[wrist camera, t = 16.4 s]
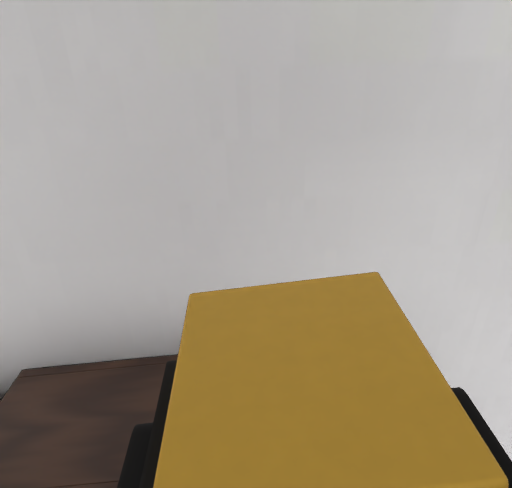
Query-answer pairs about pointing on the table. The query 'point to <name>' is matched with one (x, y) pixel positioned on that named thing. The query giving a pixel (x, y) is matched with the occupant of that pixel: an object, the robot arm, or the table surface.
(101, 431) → the cabinet
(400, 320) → the yellow box
